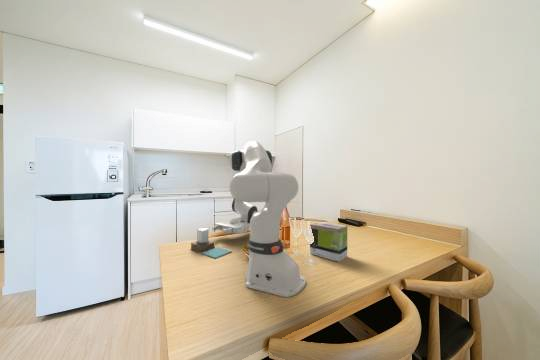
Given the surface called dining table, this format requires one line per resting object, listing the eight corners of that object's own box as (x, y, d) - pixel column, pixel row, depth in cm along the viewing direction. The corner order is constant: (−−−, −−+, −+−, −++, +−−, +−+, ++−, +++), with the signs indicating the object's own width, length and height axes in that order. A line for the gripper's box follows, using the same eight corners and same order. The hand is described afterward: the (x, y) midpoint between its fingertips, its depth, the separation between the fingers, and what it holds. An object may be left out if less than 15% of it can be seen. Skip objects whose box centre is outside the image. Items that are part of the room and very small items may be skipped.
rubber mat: (231, 252, 100) (231, 251, 100) (215, 258, 92) (215, 257, 92) (218, 247, 106) (218, 247, 106) (201, 253, 98) (201, 252, 98)
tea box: (347, 256, 96) (348, 225, 96) (339, 262, 89) (339, 229, 88) (319, 248, 106) (319, 220, 106) (309, 254, 99) (309, 223, 98)
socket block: (214, 247, 106) (214, 242, 106) (200, 252, 100) (200, 246, 100) (204, 244, 111) (204, 239, 111) (191, 248, 104) (191, 243, 104)
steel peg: (208, 248, 106) (208, 229, 106) (201, 250, 103) (201, 230, 102) (203, 246, 108) (203, 227, 108) (197, 248, 105) (197, 229, 105)
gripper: (224, 218, 131) (206, 222, 120) (248, 222, 119) (231, 227, 108) (224, 228, 131) (206, 232, 120) (248, 233, 119) (231, 239, 108)
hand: (218, 230), depth 114 cm, fingers open, 8 cm apart
